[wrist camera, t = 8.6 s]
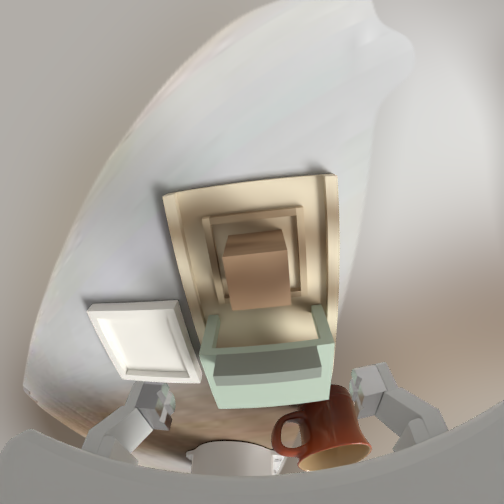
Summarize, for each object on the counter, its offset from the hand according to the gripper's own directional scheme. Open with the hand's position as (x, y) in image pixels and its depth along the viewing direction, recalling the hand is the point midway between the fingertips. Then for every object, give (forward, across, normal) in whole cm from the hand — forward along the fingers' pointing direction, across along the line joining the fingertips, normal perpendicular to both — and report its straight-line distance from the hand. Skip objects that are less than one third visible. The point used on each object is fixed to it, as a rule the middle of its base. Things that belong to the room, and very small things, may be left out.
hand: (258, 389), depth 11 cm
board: (+15, 0, +5) cm, 15 cm away
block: (+14, 0, 0) cm, 14 cm away
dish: (+15, +14, +10) cm, 23 cm away
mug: (+15, -5, +22) cm, 27 cm away
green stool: (+14, 0, +10) cm, 17 cm away
